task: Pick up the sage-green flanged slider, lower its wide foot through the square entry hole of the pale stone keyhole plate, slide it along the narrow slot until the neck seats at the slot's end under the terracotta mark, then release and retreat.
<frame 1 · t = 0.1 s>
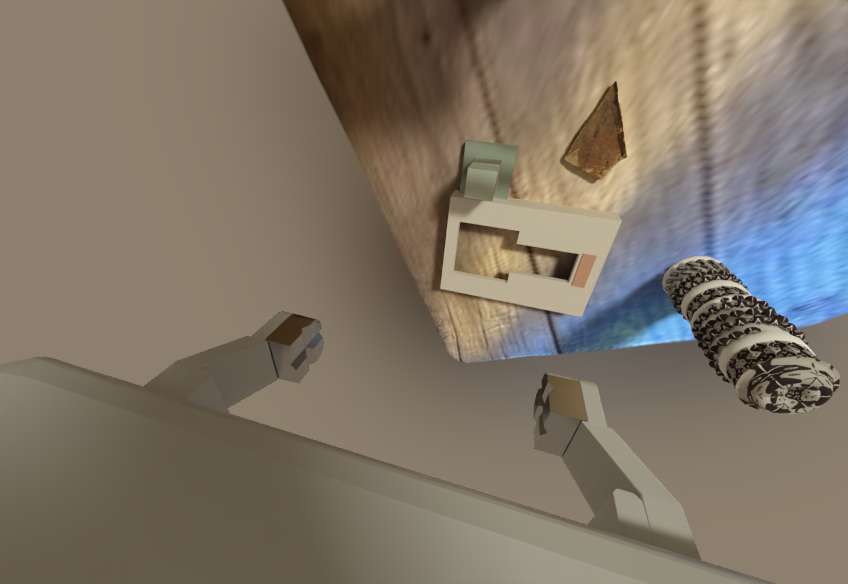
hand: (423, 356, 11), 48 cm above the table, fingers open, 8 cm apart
shard: (590, 138, 47), on the table
decorative candle: (691, 278, 53), on the table
keyhole plate: (519, 249, 58), on the table
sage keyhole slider: (487, 169, 53), on the table
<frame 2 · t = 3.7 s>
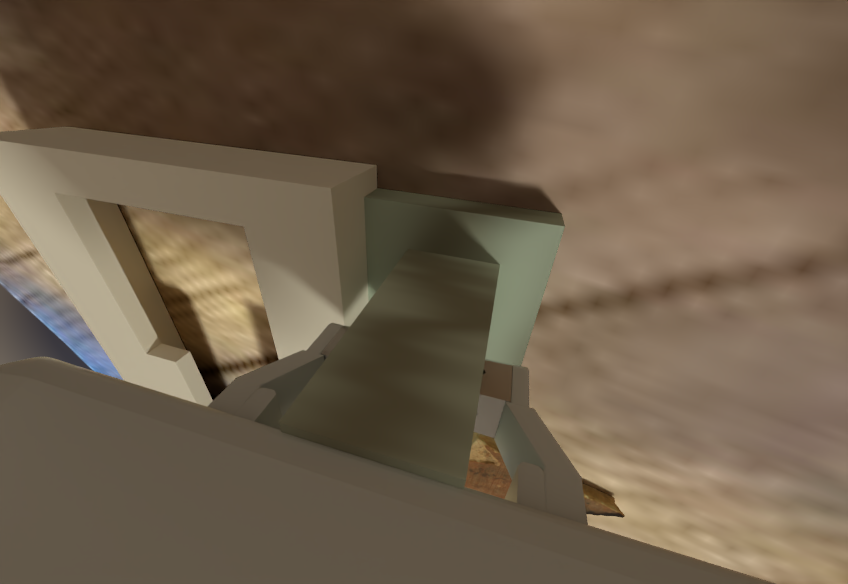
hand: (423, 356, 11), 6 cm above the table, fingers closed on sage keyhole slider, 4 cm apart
shard: (516, 456, 23), on the table
keyhole plate: (262, 342, 23), on the table
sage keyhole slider: (454, 279, 16), on the table, touching gripper
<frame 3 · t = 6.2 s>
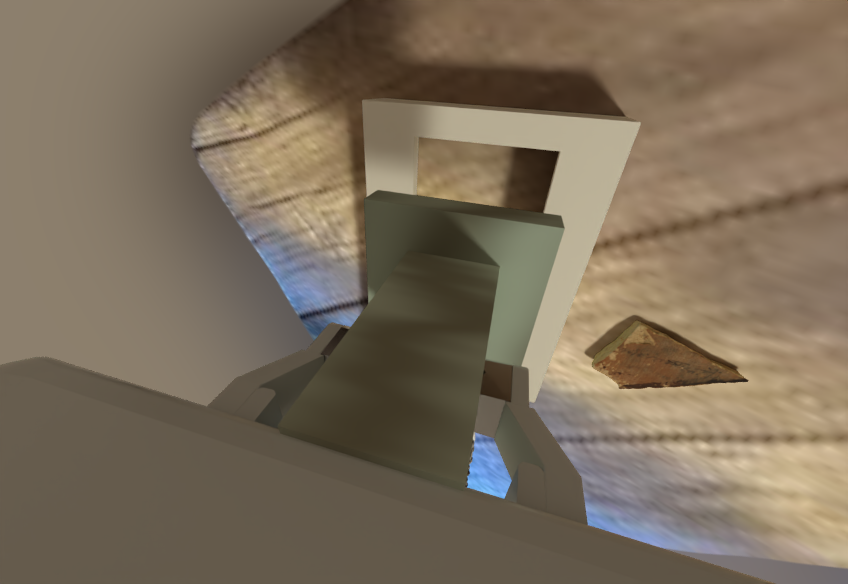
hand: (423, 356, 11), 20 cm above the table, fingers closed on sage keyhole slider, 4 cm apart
shard: (658, 345, 31), on the table
keyhole plate: (472, 259, 31), on the table
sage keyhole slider: (454, 281, 16), point 15 cm above the table, touching gripper
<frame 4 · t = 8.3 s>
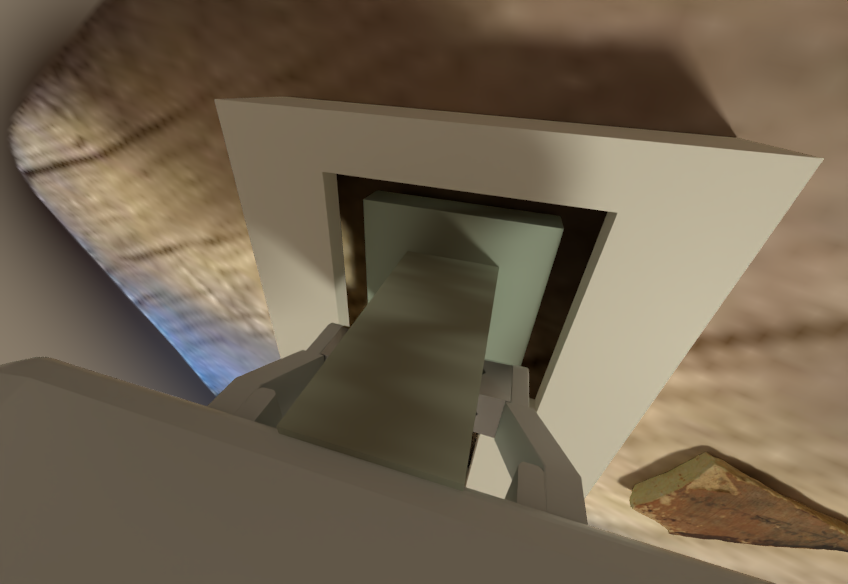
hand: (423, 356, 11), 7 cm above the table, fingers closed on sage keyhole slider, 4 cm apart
shard: (733, 481, 20), on the table
keyhole plate: (447, 351, 20), on the table
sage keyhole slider: (453, 281, 16), point 1 cm above the table, touching gripper
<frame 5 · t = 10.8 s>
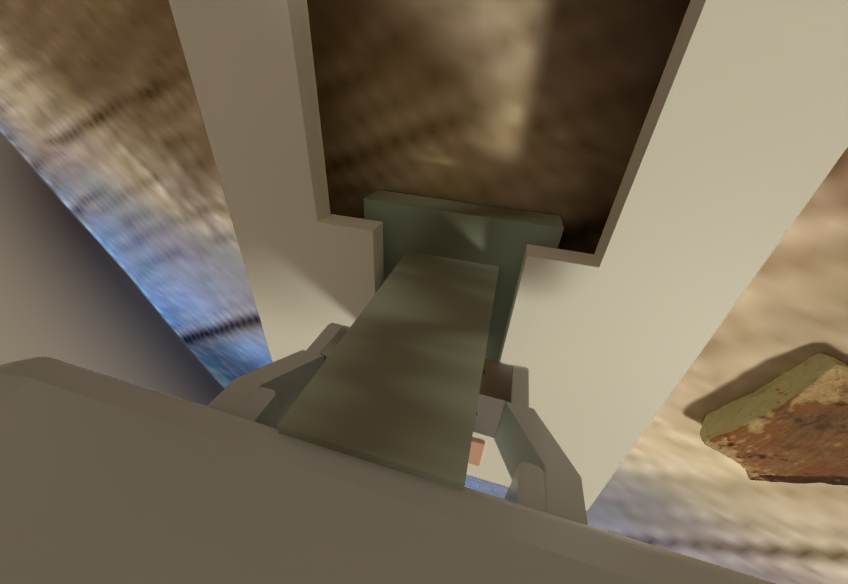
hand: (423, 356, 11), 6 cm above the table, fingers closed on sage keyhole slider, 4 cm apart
shard: (845, 401, 15), on the table
keyhole plate: (462, 229, 15), on the table
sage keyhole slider: (453, 281, 16), on the table, touching gripper
when the fingers open (6 cm above the table, at t = 12.9 s): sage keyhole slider stays where it is, on the table.
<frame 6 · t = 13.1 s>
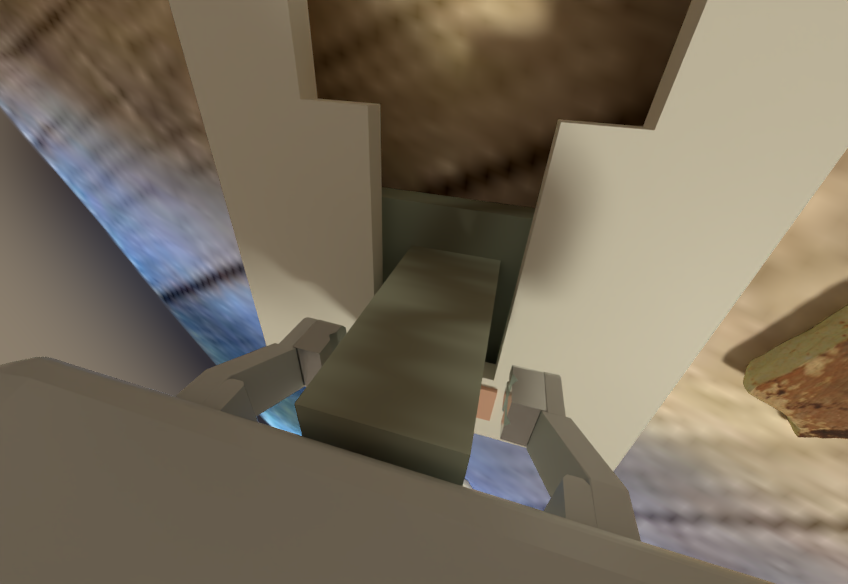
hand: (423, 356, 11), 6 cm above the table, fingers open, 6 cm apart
keyhole plate: (473, 135, 13), on the table
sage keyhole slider: (456, 275, 16), on the table
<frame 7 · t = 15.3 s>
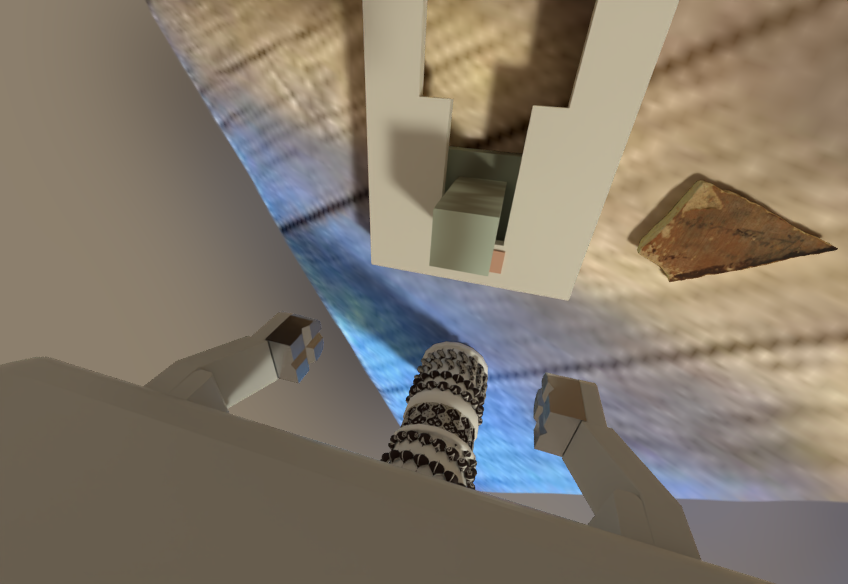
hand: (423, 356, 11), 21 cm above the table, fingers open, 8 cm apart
shard: (719, 220, 26), on the table
decorative candle: (454, 366, 41), on the table
keyhole plate: (493, 115, 25), on the table
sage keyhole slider: (480, 197, 29), on the table
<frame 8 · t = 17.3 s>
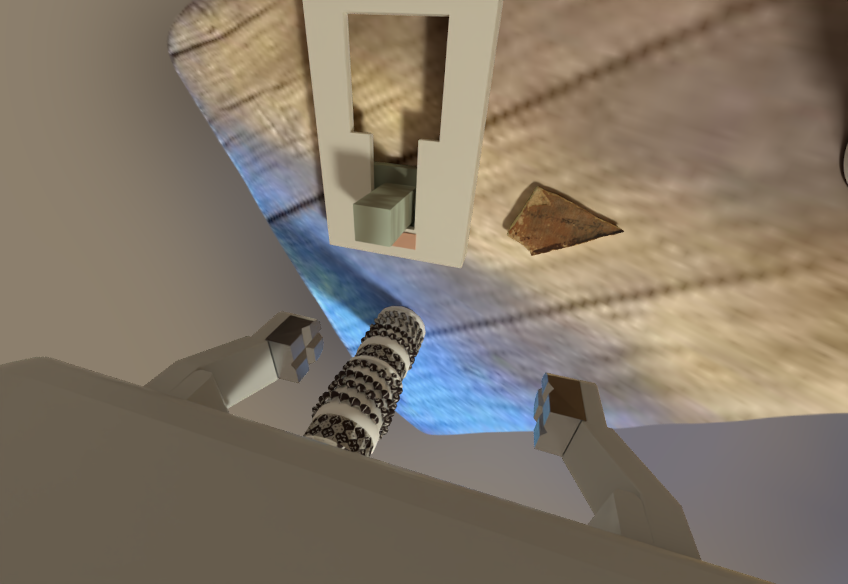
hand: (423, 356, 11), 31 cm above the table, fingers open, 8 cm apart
shard: (558, 212, 38), on the table
decorative candle: (401, 325, 53), on the table
keyhole plate: (405, 142, 38), on the table
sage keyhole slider: (404, 197, 41), on the table
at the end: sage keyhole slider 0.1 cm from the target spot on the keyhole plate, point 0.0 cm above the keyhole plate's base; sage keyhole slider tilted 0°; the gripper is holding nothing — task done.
